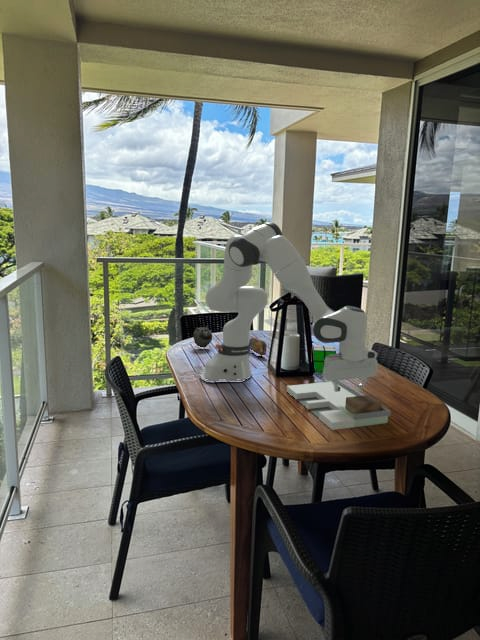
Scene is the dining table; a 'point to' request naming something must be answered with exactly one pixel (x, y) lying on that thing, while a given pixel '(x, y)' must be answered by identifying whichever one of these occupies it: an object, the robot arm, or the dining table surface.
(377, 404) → the walnut bar
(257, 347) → the brown rounded lump
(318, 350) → the puzzle cube
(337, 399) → the trap board
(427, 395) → the dining table surface
